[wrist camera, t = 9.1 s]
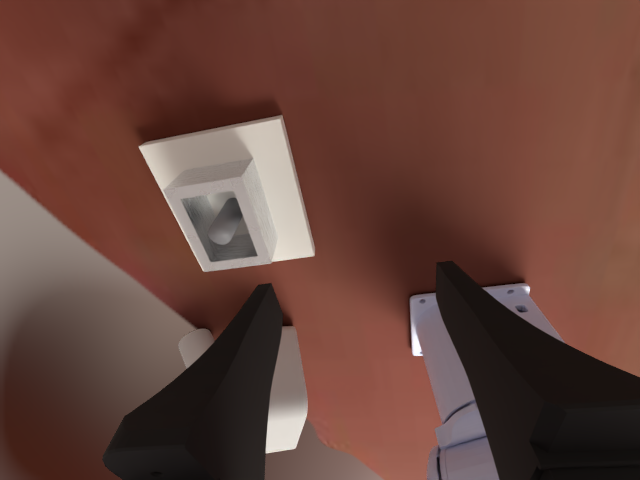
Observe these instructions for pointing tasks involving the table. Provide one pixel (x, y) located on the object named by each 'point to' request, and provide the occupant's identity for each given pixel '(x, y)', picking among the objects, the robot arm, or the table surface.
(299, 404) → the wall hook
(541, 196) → the table surface
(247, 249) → the hollow square tube
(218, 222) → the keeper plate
